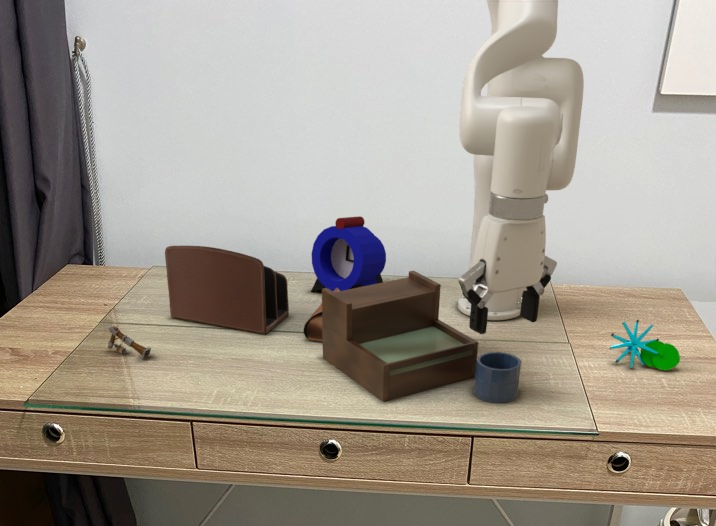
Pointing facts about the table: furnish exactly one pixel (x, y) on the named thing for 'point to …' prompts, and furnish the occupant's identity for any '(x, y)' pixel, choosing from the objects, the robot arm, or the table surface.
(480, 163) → the robot arm
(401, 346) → the brown wooden drawer box
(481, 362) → the cup
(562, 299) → the table surface
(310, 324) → the sunglasses case
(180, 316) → the letter holder
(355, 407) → the table surface
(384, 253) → the alarm clock
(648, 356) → the stick construction toy
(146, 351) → the brown branched rod
